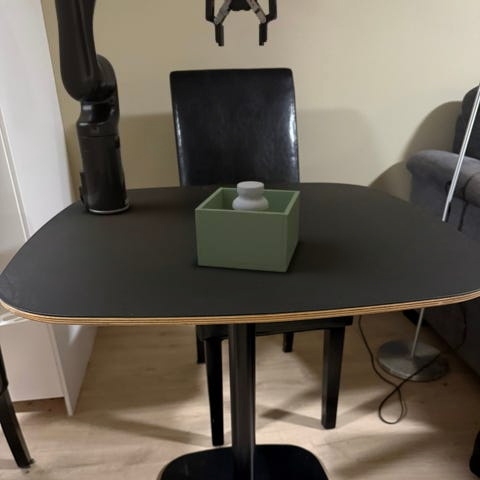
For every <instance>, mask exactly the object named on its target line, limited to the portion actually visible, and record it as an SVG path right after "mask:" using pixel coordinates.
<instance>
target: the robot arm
mask: <svg viewBox="0 0 480 480" xmlns="http://www.w3.org/2000/svg"><path fill="white" fill-rule="evenodd" d="M215 1H216V0H205V1H204V2H205V5H204V7H205V11H204V15H205V17H204V18H205V20H206V22H209V23H212V24H213V26H214V36H215V37H214V38H215V39H214V40H215V44H217V46H218V47H225V26H224V25H223V24H224V22H225V20H226V19H227V17H228V16H229V15H230V13H231V12H241V11H244V12H250V11H251V10H252V11H253V13H254V14H255V15H256V17H257V18H258V21H259V24H258V46H259V47H264V46H265V43H267V42H268V25H269V23H270V22H272V21H276V20H277V19H278V6H277V5H278V3H277V0H268V13H267V14H266V13H265V12H264V10H263V8H262V6H261V5H260V3H259V2H258V0H223V2H222V3H221V6H220V7H219V10H218V12H217V14H216V15H215V8H216V7H215V4H216V2H215ZM96 6H97V0H54V7H55V14H56V22H57V32H58V33H57V34H58V53H59V54H58V55H59V57H58V59H59V73H60V79H61V83H62V86H63V88H64V90H65V91H66V93H67V94H68V95H69V97H70V98H71V99H72V100H74V101H76V102H78V103H79V104H80V112H79V116H78V118H77V119H76V122H75V130H76V137H77V143H78V149H79V154H80V160H81V166H82V169H80V170H79V177H80V183H81V185H80V186H78V190H79V191H78V192H79V198H80V201H81V202H82V204H83V206H84V207H85V212H89V213H91V214H94V215H113V214H119V213H123V212H125V211H128V210H129V208H130V205H129V203H130V196H128V193H127V183H126V177H125V176H126V175H125V169H124V168H125V167H124V160H123V152H122V145H121V136H120V129H119V127H120V125H119V124H120V119H121V109H120V97H119V88H118V87H119V85H118V79H117V75H116V72H115V69H114V66H113V64H112V63H111V62H110V61H109V59H108V58H107V57H105V56H103V55H102V54H99V53H97V49H96V43H95V32H94V18H95V17H94V16H95V10H96Z"/></svg>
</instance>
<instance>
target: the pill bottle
mask: <svg viewBox="0 0 480 480" xmlns="http://www.w3.org/2000/svg"><path fill="white" fill-rule="evenodd" d="M236 188H237V192H238V194H239V197H237V198H236V199H235V200H234V201H233V206H232V208H233V210H239V211H258V212H269V203H268V201H267V199H266V198H264V197H262V194H263V193H264V189H265V184H264V182H260V181H241V182H239V183H237V185H236Z"/></svg>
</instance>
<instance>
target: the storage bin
mask: <svg viewBox="0 0 480 480" xmlns="http://www.w3.org/2000/svg"><path fill="white" fill-rule="evenodd" d="M237 197H239V194H238V192H237V187H219V188H218V189H216V191H213V193H212V194H210V196H209V197H207V198H206V199H205V200H204V201H203V202H201V203H200V204H199V205H198V206H197V207H196V208H195V209H194V217H195V235H196V251H197V265H198V266H204V267H215V268H225V269H226V268H227V269H238V270H240V269H242V270H252V271H264V272H265V271H266V272H277V273H287V272H288V271H287V270H288V268H289V265H290V263H291V260H292V257H293V255H294V253H295V250H296V248H297V245H298V242H299V228H300V227H299V226H300V225H299V223H300V206H301V205H300V204H301V199H300V198H301V190H285V189H265V188H264V193H263V194H262V197H264V198H266V199H267V201H268V203H269V212H258V211H239V210H233V208H232V206H233V201H234V200H235V199H236V198H237Z"/></svg>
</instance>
